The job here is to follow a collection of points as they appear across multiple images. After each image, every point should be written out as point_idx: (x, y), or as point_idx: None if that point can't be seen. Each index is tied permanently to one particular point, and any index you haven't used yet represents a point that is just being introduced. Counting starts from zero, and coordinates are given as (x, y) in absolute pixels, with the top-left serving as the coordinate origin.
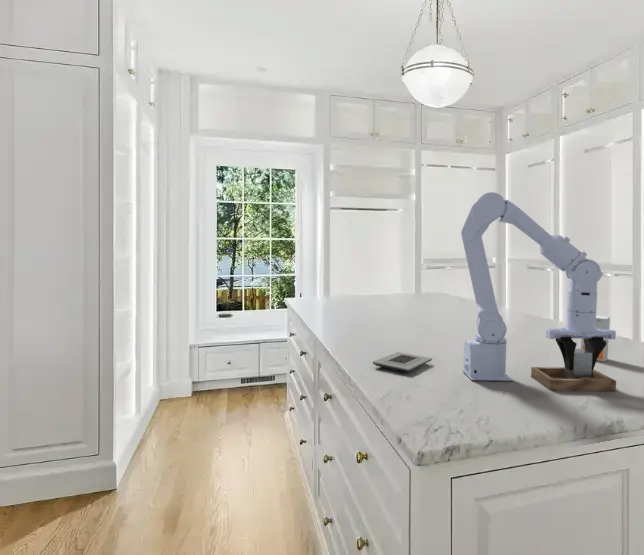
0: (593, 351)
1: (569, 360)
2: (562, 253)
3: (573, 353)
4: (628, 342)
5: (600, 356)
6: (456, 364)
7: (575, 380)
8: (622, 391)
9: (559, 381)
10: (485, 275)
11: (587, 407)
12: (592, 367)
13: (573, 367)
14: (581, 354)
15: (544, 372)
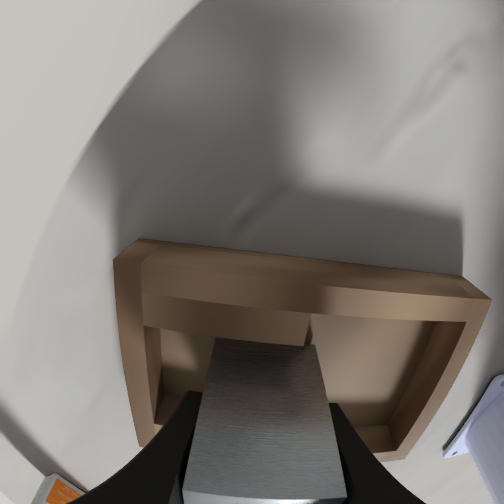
0: (171, 500)
1: (366, 447)
2: None
3: (360, 490)
4: (3, 489)
5: (59, 487)
6: (478, 472)
7: (380, 291)
8: (104, 239)
9: (457, 293)
10: None
11: (445, 48)
12: (190, 403)
13: (327, 411)
14: (284, 488)
15: (363, 439)
